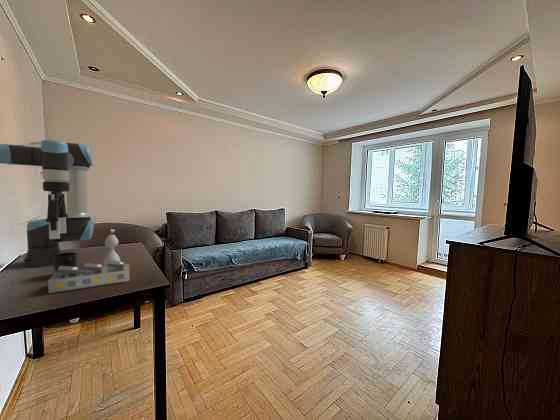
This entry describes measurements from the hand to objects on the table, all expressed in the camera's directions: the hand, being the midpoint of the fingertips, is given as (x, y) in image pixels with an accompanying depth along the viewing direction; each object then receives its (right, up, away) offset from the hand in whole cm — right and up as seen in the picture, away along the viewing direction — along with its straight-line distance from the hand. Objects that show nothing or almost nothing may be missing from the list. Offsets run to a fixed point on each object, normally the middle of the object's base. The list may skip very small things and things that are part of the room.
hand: (58, 235), depth 93 cm
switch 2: (+8, -14, +7) cm, 18 cm away
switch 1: (+2, -14, +3) cm, 15 cm away
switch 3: (+15, -14, +12) cm, 23 cm away
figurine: (+2, -20, +27) cm, 33 cm away
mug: (-10, -20, +15) cm, 27 cm away
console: (+8, -21, +8) cm, 24 cm away
